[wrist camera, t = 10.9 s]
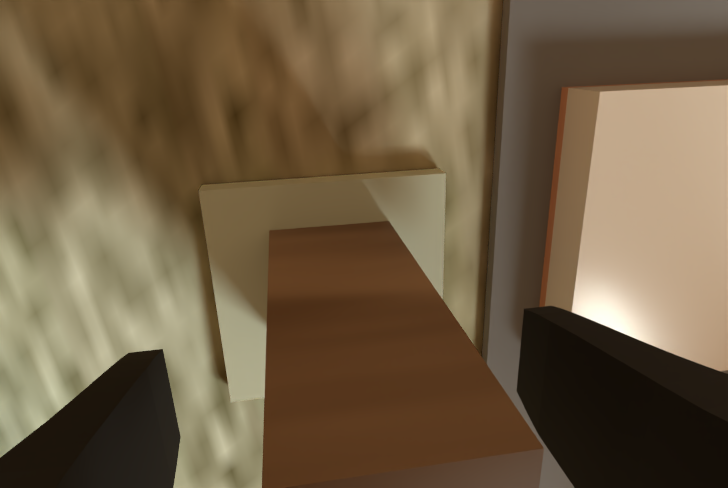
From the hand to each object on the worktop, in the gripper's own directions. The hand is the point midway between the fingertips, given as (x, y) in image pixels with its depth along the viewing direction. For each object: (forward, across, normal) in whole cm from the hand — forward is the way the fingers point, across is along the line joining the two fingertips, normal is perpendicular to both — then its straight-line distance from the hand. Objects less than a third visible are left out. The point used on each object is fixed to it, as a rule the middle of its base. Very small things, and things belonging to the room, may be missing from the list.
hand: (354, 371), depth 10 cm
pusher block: (+3, 0, 0) cm, 4 cm away
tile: (+3, -10, +3) cm, 11 cm away
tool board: (+4, 0, 0) cm, 4 cm away
